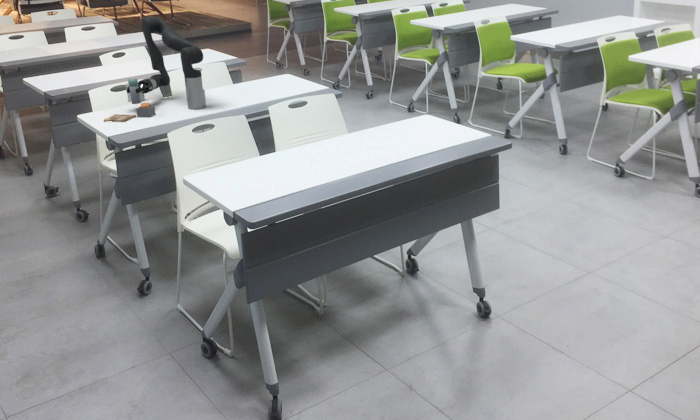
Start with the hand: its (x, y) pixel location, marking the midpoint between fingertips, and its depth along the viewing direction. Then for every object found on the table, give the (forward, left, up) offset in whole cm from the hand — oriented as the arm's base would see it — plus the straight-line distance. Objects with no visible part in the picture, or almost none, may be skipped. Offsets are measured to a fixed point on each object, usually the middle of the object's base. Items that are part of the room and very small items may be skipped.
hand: (131, 91), depth 396 cm
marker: (0, -3, -7) cm, 7 cm away
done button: (-10, +6, -8) cm, 15 cm away
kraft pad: (0, +15, -12) cm, 19 cm away
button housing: (-10, +6, -12) cm, 17 cm away
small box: (+15, -30, -12) cm, 36 cm away
